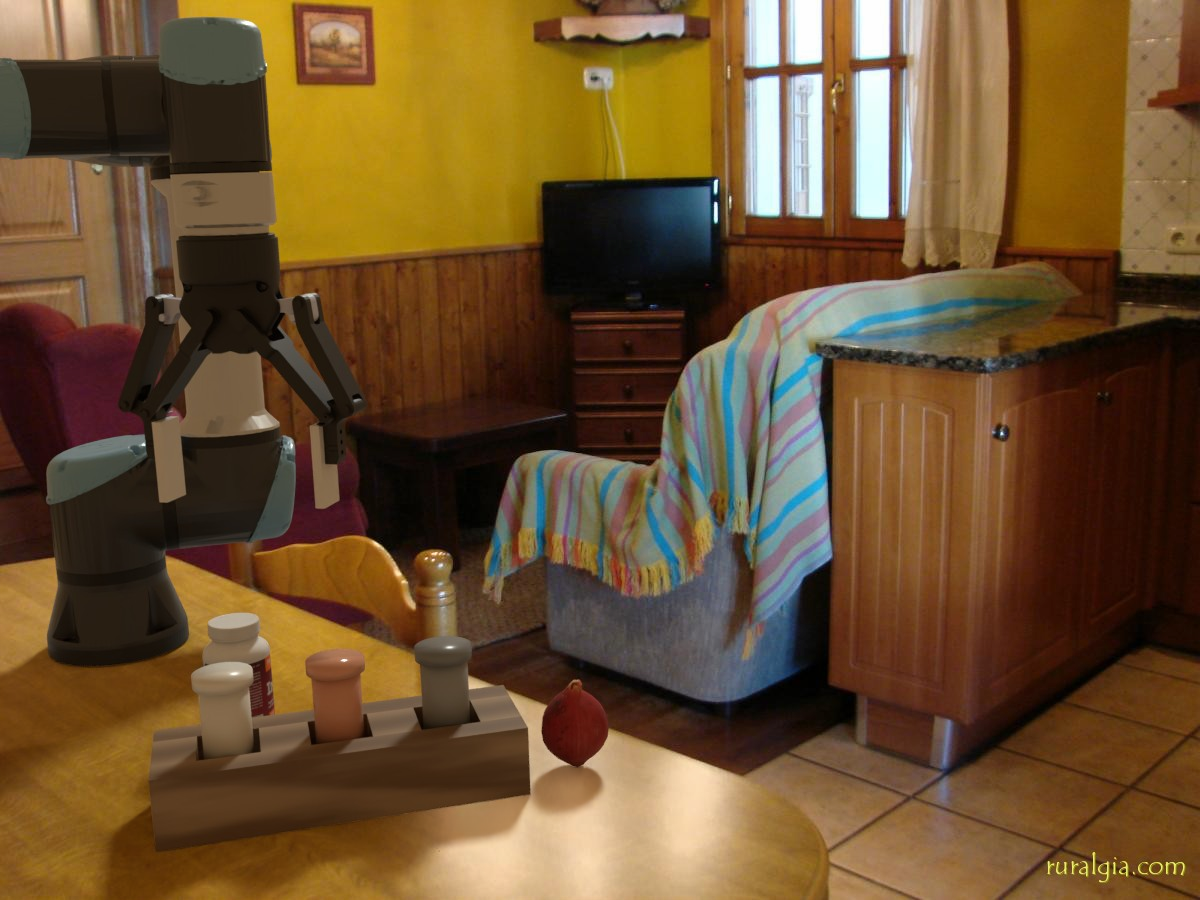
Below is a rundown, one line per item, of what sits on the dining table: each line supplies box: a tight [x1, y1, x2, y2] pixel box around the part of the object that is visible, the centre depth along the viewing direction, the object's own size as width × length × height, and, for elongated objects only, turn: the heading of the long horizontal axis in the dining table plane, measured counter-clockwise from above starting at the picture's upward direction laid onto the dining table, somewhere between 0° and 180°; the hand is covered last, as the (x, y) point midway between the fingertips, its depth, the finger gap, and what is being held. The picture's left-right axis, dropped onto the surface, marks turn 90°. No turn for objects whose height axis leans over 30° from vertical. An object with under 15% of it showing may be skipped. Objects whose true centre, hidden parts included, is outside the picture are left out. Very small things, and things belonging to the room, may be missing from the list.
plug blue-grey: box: [413, 635, 473, 730], centre depth 112 cm, size 5×5×8 cm
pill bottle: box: [201, 612, 276, 718], centre depth 124 cm, size 6×6×11 cm
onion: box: [540, 679, 610, 768], centre depth 115 cm, size 6×6×8 cm
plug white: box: [190, 662, 255, 760], centre depth 108 cm, size 5×5×8 cm
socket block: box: [147, 684, 532, 853], centre depth 111 cm, size 10×30×6 cm, turn 106°
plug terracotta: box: [304, 648, 366, 744], centre depth 110 cm, size 5×5×8 cm
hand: (249, 501), depth 105 cm, fingers open, 13 cm apart
